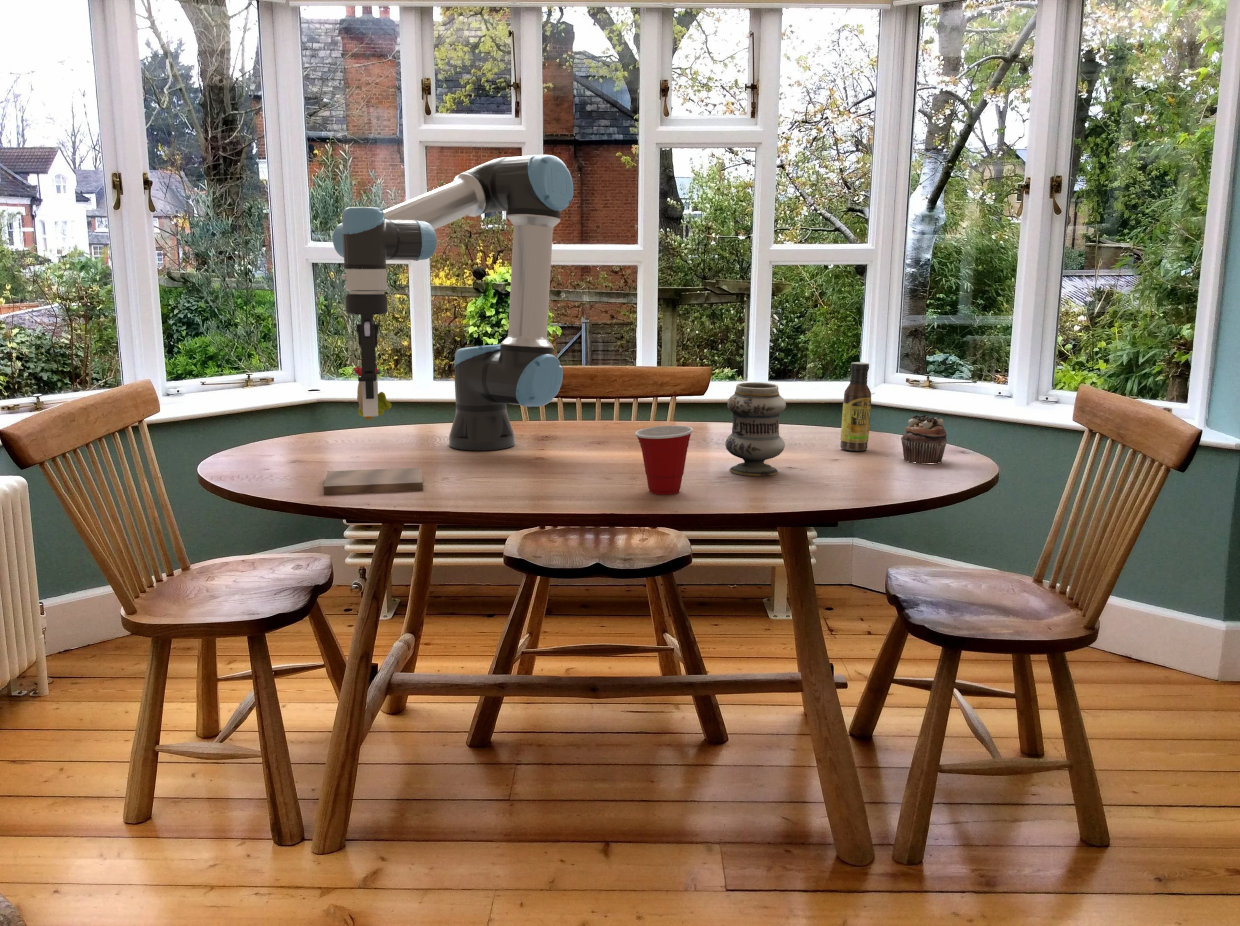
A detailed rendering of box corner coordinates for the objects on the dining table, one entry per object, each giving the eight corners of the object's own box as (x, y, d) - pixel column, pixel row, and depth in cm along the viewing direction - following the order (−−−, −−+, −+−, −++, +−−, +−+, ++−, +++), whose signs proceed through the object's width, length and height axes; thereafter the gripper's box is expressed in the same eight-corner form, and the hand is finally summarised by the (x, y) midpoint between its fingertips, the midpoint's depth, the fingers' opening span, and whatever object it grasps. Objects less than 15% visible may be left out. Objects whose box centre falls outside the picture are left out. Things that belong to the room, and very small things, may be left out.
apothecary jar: (746, 480, 206) (748, 389, 202) (713, 469, 216) (715, 382, 213) (795, 474, 211) (799, 386, 208) (761, 464, 222) (764, 379, 218)
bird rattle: (386, 430, 196) (394, 405, 203) (378, 379, 189) (387, 355, 197) (352, 430, 196) (362, 405, 203) (343, 379, 189) (353, 355, 197)
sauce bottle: (850, 452, 234) (854, 364, 230) (834, 448, 240) (838, 362, 236) (874, 451, 237) (878, 363, 233) (857, 446, 242) (862, 361, 239)
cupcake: (953, 460, 226) (956, 415, 224) (932, 467, 219) (935, 420, 217) (913, 454, 233) (915, 410, 231) (891, 460, 226) (894, 415, 224)
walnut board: (420, 474, 209) (420, 467, 209) (423, 490, 196) (422, 482, 195) (327, 478, 205) (327, 471, 205) (323, 494, 192) (323, 486, 191)
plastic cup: (630, 486, 200) (631, 424, 198) (685, 484, 201) (687, 423, 199) (638, 498, 189) (639, 434, 187) (697, 497, 191) (698, 432, 188)
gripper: (347, 290, 203) (352, 404, 207) (343, 294, 182) (348, 421, 186) (386, 290, 205) (391, 403, 209) (386, 294, 183) (391, 420, 188)
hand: (371, 412), depth 198 cm, fingers closed on bird rattle, 9 cm apart
